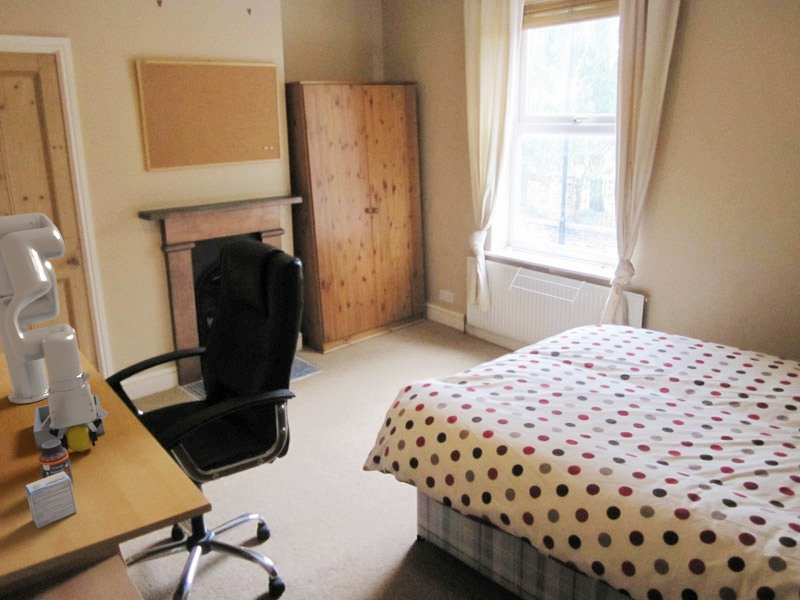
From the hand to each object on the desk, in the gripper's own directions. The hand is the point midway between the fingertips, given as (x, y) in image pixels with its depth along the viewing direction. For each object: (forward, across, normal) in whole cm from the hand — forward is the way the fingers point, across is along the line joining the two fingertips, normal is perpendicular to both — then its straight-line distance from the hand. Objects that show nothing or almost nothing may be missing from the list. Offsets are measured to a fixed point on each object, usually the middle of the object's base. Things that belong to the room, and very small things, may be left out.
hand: (80, 446), depth 162 cm
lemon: (+2, 0, 0) cm, 2 cm away
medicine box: (+2, +6, +27) cm, 28 cm away
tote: (+1, +2, -15) cm, 15 cm away
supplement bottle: (+2, +5, +15) cm, 16 cm away
